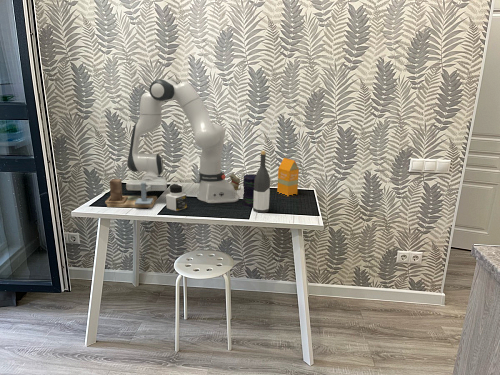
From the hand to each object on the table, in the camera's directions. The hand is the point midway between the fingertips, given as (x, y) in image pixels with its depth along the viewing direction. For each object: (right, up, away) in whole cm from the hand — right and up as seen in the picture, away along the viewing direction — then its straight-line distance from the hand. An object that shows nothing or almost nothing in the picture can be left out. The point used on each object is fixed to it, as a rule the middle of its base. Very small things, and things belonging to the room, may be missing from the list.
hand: (144, 190), depth 202 cm
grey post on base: (0, -6, +1) cm, 6 cm away
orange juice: (+73, -2, +30) cm, 80 cm away
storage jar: (+53, -8, +10) cm, 55 cm away
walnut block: (-15, -6, +4) cm, 16 cm away
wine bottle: (+58, -10, +2) cm, 59 cm away
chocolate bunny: (+42, 0, +35) cm, 55 cm away
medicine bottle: (+16, -9, +1) cm, 18 cm away
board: (-7, -7, +7) cm, 12 cm away
